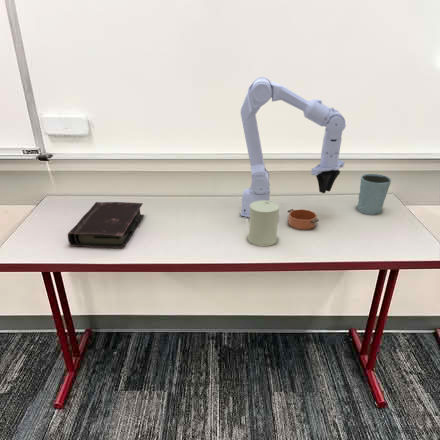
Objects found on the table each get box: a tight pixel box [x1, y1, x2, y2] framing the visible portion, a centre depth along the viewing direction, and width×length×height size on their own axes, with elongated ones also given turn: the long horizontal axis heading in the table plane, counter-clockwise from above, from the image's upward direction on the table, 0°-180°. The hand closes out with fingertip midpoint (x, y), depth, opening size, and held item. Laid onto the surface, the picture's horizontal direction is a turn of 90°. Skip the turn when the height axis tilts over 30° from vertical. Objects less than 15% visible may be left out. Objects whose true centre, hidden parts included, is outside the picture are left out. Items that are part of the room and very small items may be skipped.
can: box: [247, 200, 280, 247], centre depth 133 cm, size 9×9×12 cm
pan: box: [287, 208, 320, 231], centre depth 145 cm, size 9×12×4 cm
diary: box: [67, 201, 145, 249], centre depth 141 cm, size 19×25×5 cm
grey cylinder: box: [356, 173, 392, 216], centre depth 153 cm, size 10×10×12 cm
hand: (324, 191), depth 146 cm, fingers closed
